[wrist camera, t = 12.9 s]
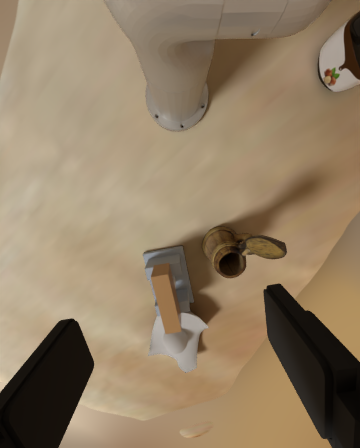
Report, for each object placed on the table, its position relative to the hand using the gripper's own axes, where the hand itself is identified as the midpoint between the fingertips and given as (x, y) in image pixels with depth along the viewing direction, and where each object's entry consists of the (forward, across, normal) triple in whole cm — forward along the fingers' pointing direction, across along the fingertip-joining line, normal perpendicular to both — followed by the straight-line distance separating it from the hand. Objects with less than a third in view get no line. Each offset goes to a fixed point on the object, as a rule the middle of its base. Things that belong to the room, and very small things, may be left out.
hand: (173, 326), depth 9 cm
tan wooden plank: (+30, +6, +18) cm, 36 cm away
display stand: (+36, +6, +18) cm, 41 cm away
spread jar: (+37, -38, -21) cm, 57 cm away
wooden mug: (+36, -10, +10) cm, 39 cm away
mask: (+37, +7, +35) cm, 51 cm away
